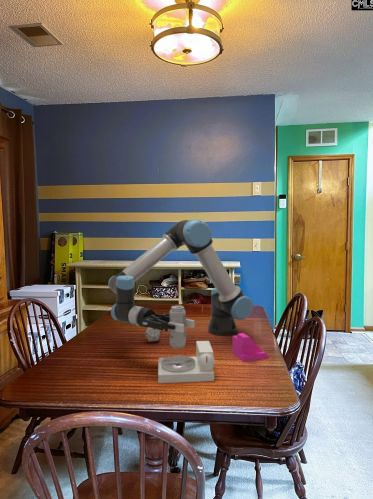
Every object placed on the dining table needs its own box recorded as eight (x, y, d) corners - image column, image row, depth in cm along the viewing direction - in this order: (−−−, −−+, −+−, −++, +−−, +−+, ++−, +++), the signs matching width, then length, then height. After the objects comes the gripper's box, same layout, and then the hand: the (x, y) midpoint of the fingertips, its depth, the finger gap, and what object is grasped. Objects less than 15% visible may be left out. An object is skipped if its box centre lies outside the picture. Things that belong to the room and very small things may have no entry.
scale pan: (193, 357, 140) (193, 354, 140) (197, 371, 127) (197, 368, 127) (161, 359, 139) (161, 356, 139) (161, 373, 126) (161, 369, 126)
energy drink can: (170, 343, 136) (170, 305, 134) (186, 343, 135) (185, 305, 134) (169, 349, 130) (168, 309, 128) (185, 349, 129) (185, 309, 128)
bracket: (243, 362, 143) (243, 337, 143) (232, 353, 153) (232, 330, 152) (269, 358, 147) (269, 334, 146) (256, 349, 157) (257, 327, 156)
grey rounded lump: (155, 350, 167) (158, 338, 161) (139, 343, 168) (141, 330, 162) (163, 336, 174) (166, 324, 168) (147, 329, 175) (150, 317, 169)
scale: (209, 363, 142) (209, 339, 141) (215, 380, 126) (215, 353, 125) (158, 365, 141) (158, 340, 140) (158, 383, 125) (157, 355, 124)
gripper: (157, 320, 150) (203, 330, 137) (125, 331, 135) (172, 343, 121) (157, 303, 150) (203, 311, 136) (125, 312, 134) (172, 322, 121)
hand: (188, 326), depth 129 cm, fingers closed on energy drink can, 6 cm apart
